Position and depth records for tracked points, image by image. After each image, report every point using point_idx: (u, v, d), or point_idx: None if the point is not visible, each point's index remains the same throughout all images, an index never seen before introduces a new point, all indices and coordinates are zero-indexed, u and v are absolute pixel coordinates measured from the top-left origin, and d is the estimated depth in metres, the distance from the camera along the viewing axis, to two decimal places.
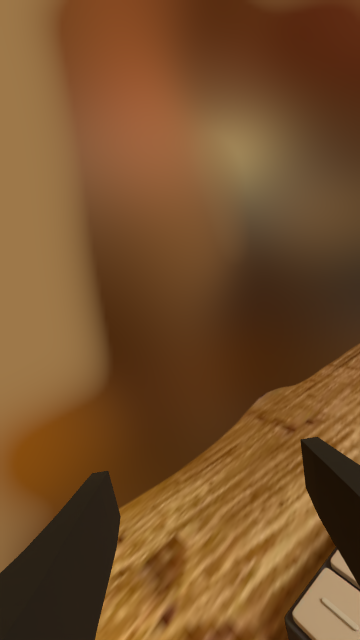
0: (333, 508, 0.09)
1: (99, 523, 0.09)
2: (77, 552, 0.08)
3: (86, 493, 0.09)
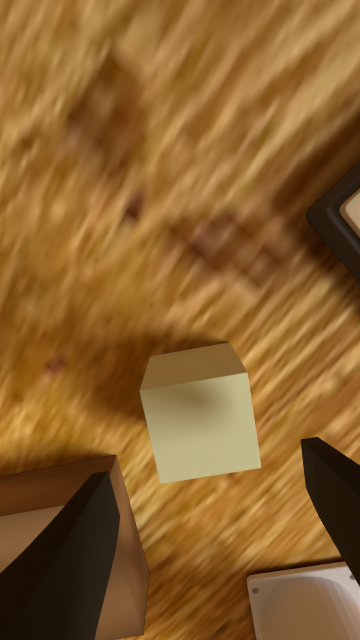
0: (333, 508, 0.09)
1: (99, 523, 0.09)
2: (77, 552, 0.08)
3: (86, 493, 0.09)
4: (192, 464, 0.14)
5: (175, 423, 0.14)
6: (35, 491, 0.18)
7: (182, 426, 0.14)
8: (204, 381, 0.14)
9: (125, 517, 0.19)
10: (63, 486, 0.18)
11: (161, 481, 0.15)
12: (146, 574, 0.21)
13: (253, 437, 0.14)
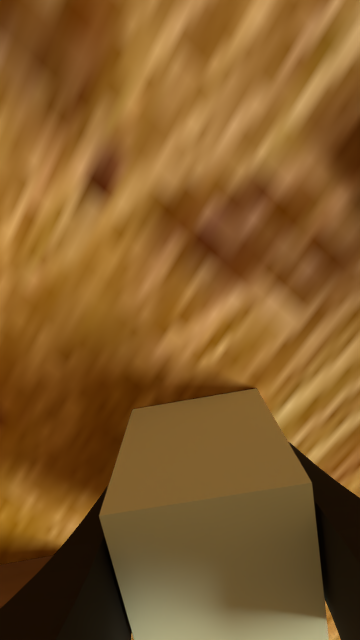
0: None
1: None
2: None
3: None
4: None
5: (170, 571, 0.07)
6: None
7: (183, 577, 0.07)
8: (227, 498, 0.07)
9: None
10: None
11: None
12: None
13: (316, 594, 0.07)
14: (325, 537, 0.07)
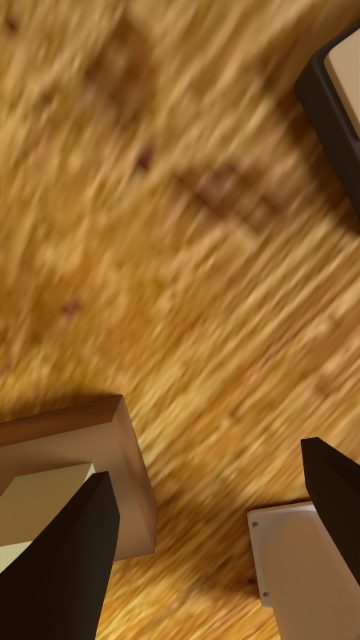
0: (333, 508, 0.09)
1: (99, 523, 0.09)
2: (77, 552, 0.08)
3: (86, 493, 0.09)
4: None
5: None
6: (50, 424, 0.20)
7: None
8: (20, 544, 0.14)
9: (133, 449, 0.21)
10: (75, 418, 0.20)
11: None
12: (155, 507, 0.23)
13: None
14: None
